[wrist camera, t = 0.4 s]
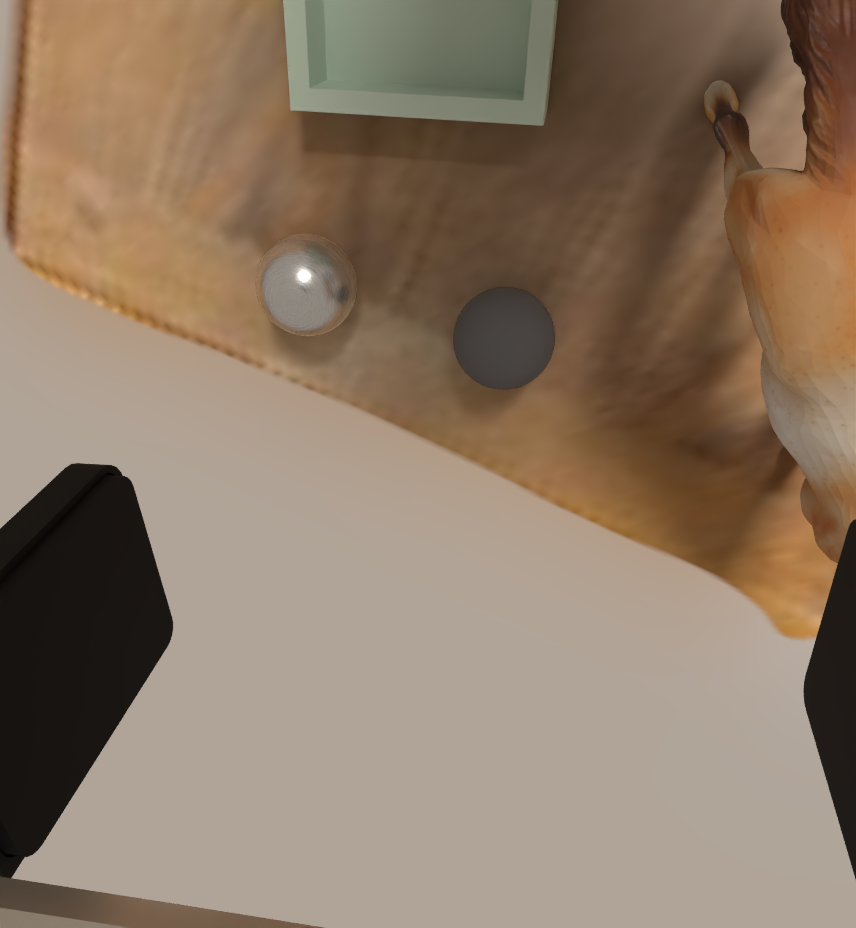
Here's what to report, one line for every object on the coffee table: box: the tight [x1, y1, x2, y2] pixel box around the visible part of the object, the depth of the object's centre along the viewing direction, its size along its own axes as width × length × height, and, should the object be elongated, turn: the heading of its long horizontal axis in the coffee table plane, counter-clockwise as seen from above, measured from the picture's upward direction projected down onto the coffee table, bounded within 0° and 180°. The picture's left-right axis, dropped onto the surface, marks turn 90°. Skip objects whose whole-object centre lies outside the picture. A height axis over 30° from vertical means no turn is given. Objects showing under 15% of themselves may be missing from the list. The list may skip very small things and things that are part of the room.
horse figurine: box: [704, 0, 856, 563], centre depth 32 cm, size 31×8×21 cm, turn 22°
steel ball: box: [256, 233, 357, 336], centre depth 43 cm, size 6×6×6 cm
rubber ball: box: [453, 287, 555, 390], centre depth 42 cm, size 6×6×6 cm
